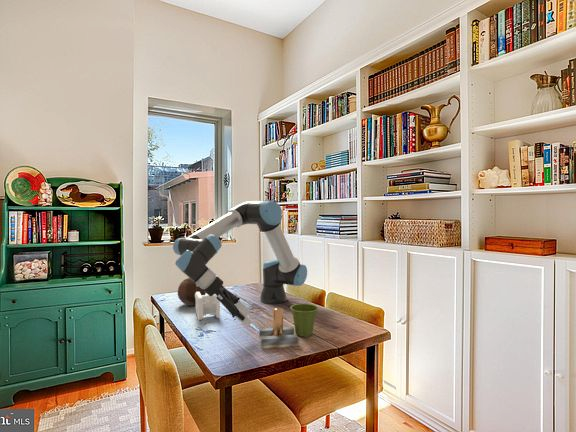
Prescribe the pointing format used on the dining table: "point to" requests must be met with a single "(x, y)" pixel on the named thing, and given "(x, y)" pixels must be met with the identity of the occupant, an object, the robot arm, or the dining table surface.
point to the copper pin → (277, 321)
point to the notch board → (277, 338)
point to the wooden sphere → (189, 291)
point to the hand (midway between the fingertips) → (249, 318)
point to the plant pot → (304, 318)
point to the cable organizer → (207, 305)
